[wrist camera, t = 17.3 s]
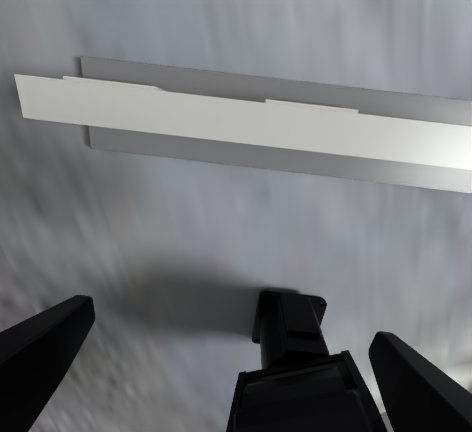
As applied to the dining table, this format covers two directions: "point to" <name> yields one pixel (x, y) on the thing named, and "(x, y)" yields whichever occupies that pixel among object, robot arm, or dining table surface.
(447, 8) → the dining table surface
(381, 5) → the dining table surface
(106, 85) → the panel
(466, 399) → the robot arm
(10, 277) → the dining table surface
